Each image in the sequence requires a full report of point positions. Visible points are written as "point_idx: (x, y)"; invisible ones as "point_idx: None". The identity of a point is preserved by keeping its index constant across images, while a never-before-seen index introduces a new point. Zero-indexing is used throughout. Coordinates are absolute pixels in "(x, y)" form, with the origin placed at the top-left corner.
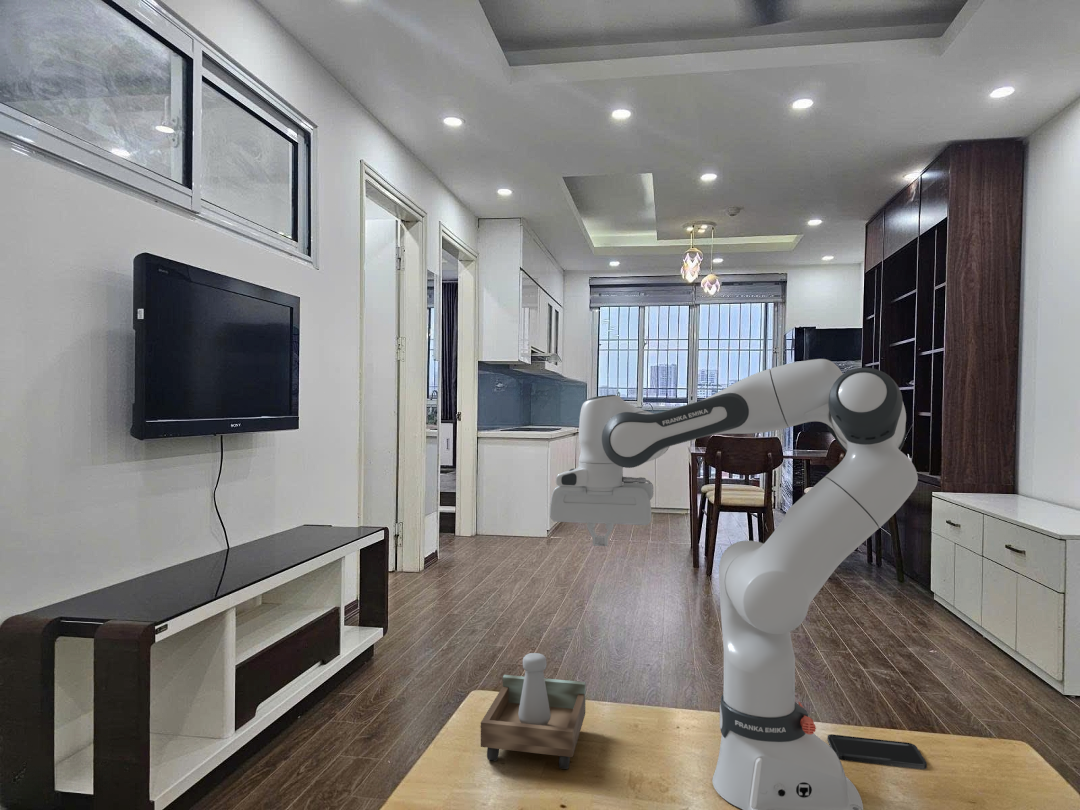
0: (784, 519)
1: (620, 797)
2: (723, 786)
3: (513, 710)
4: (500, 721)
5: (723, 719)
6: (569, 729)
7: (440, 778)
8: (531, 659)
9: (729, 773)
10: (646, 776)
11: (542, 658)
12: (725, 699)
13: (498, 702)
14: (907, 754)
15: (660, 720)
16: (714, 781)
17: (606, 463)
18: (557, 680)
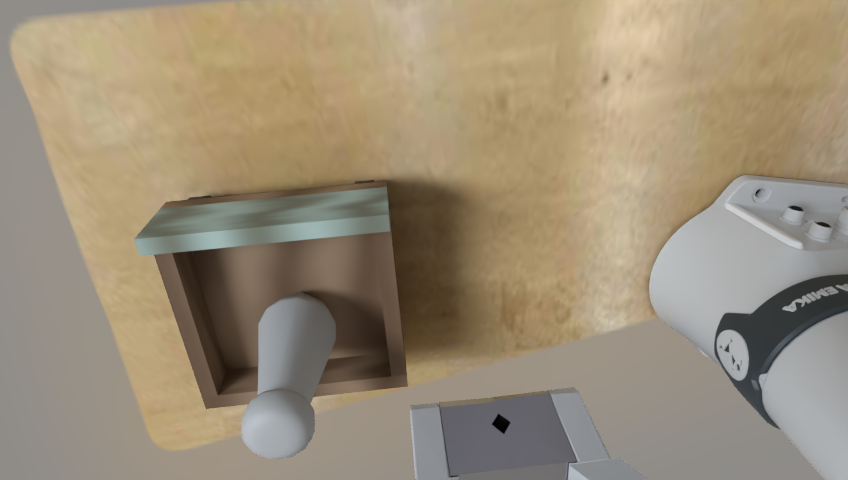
0: None
1: (492, 355)
2: (668, 320)
3: (216, 256)
4: (244, 393)
5: (735, 380)
6: (398, 379)
7: (182, 396)
8: (276, 457)
9: (689, 337)
10: (532, 290)
11: (304, 443)
12: (767, 402)
13: (192, 325)
14: None
15: (563, 55)
16: (654, 292)
17: None
18: (305, 228)
